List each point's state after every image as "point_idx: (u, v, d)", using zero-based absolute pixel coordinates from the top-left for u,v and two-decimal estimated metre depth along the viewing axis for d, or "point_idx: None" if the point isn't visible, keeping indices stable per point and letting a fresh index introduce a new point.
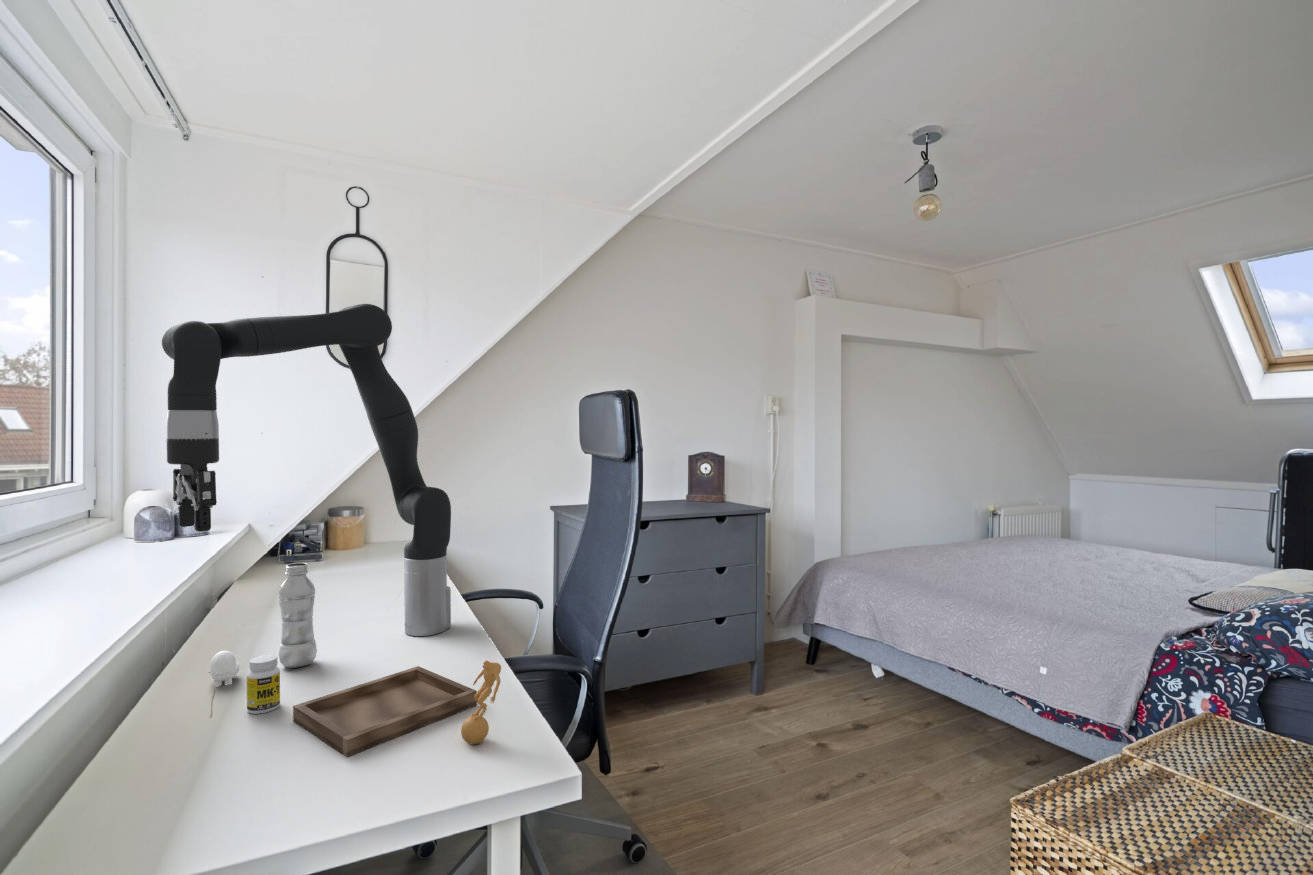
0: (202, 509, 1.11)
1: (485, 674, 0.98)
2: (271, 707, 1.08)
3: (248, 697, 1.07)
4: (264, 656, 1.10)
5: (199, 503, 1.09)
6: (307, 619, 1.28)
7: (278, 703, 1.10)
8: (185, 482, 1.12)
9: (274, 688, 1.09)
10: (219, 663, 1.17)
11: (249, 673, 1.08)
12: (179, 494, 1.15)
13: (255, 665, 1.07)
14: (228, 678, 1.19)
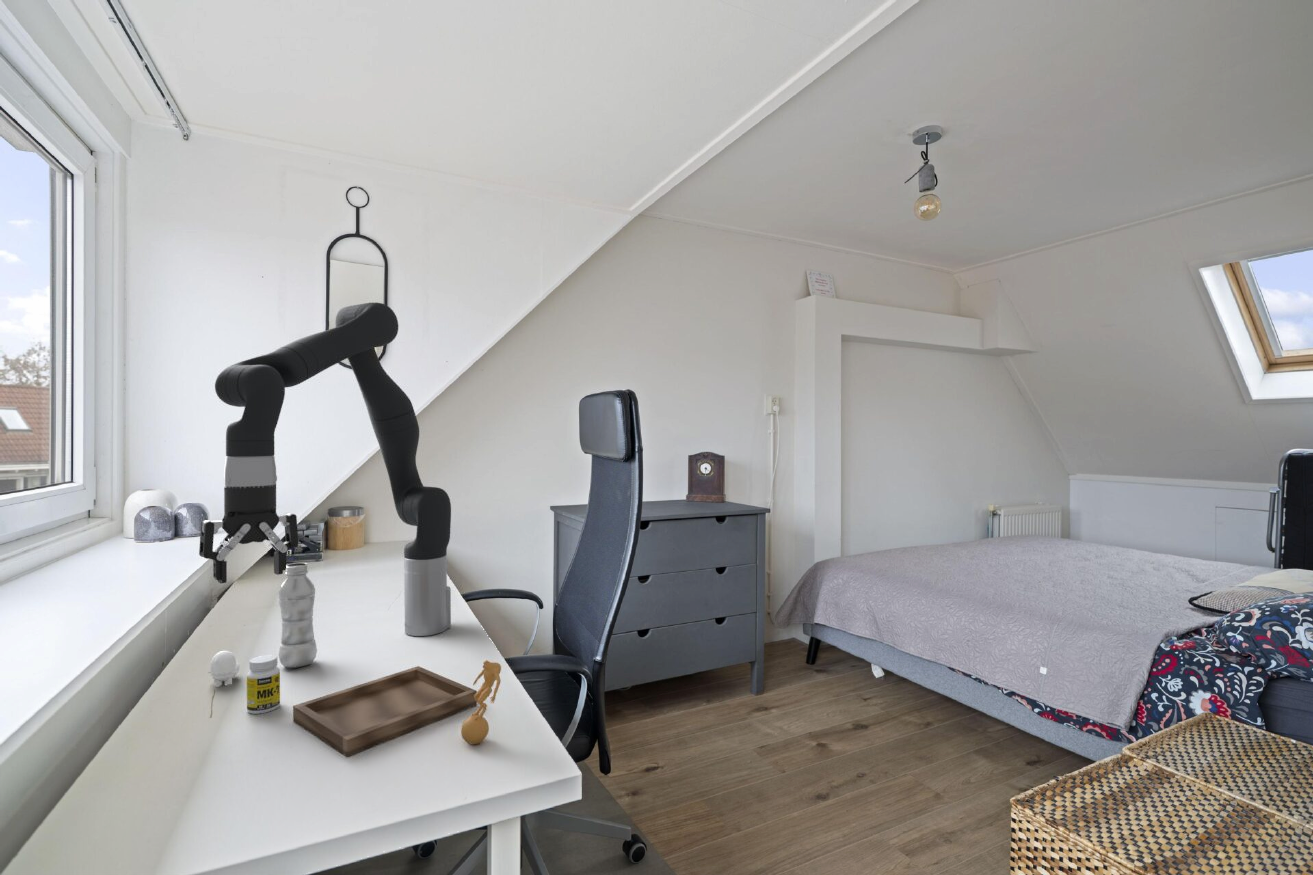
0: (286, 551, 1.15)
1: (485, 674, 0.98)
2: (271, 707, 1.08)
3: (248, 697, 1.07)
4: (264, 656, 1.10)
5: (297, 544, 1.15)
6: (307, 619, 1.28)
7: (278, 703, 1.10)
8: (268, 528, 1.11)
9: (274, 688, 1.09)
10: (219, 663, 1.17)
11: (249, 673, 1.08)
12: (234, 546, 1.08)
13: (255, 665, 1.07)
14: (228, 678, 1.19)
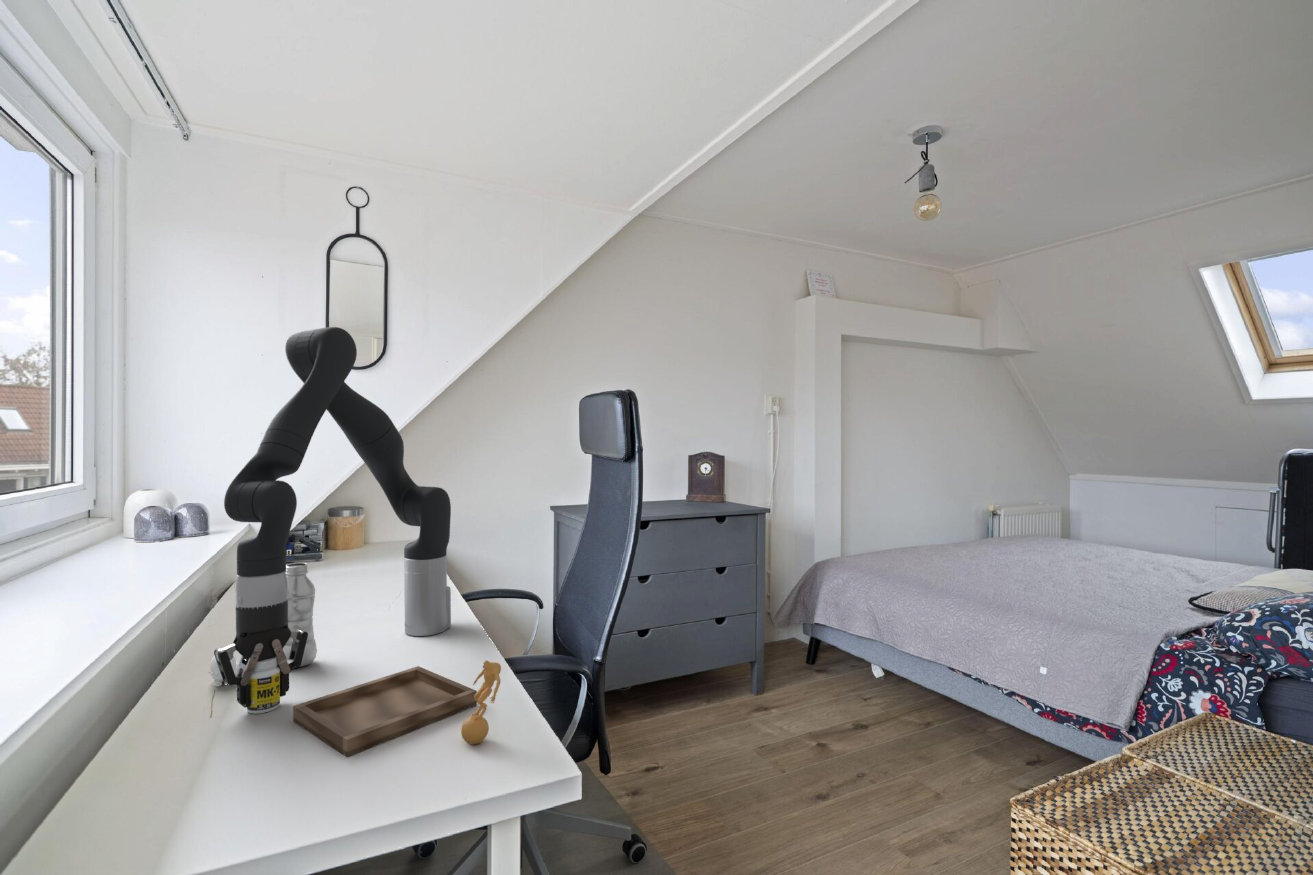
0: None
1: (485, 674, 0.98)
2: (271, 707, 1.08)
3: None
4: None
5: (299, 663, 1.12)
6: (307, 619, 1.28)
7: (278, 703, 1.10)
8: (279, 646, 1.09)
9: (274, 688, 1.09)
10: None
11: None
12: (254, 667, 1.07)
13: None
14: None
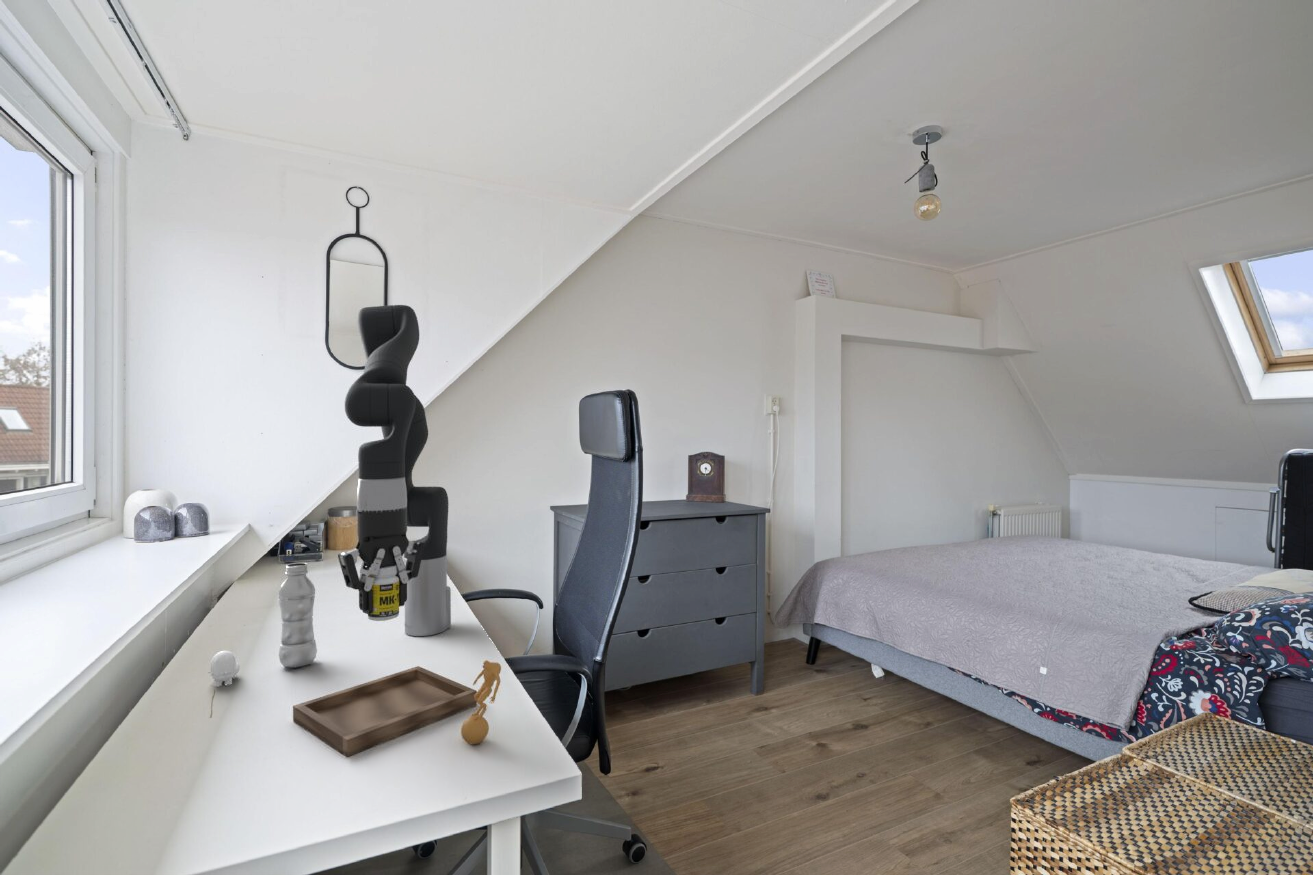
0: None
1: (485, 674, 0.98)
2: (392, 615, 1.06)
3: None
4: None
5: (417, 574, 1.10)
6: (307, 619, 1.28)
7: (398, 612, 1.07)
8: (399, 554, 1.07)
9: (395, 596, 1.06)
10: (219, 663, 1.17)
11: None
12: (376, 573, 1.04)
13: None
14: (228, 678, 1.19)
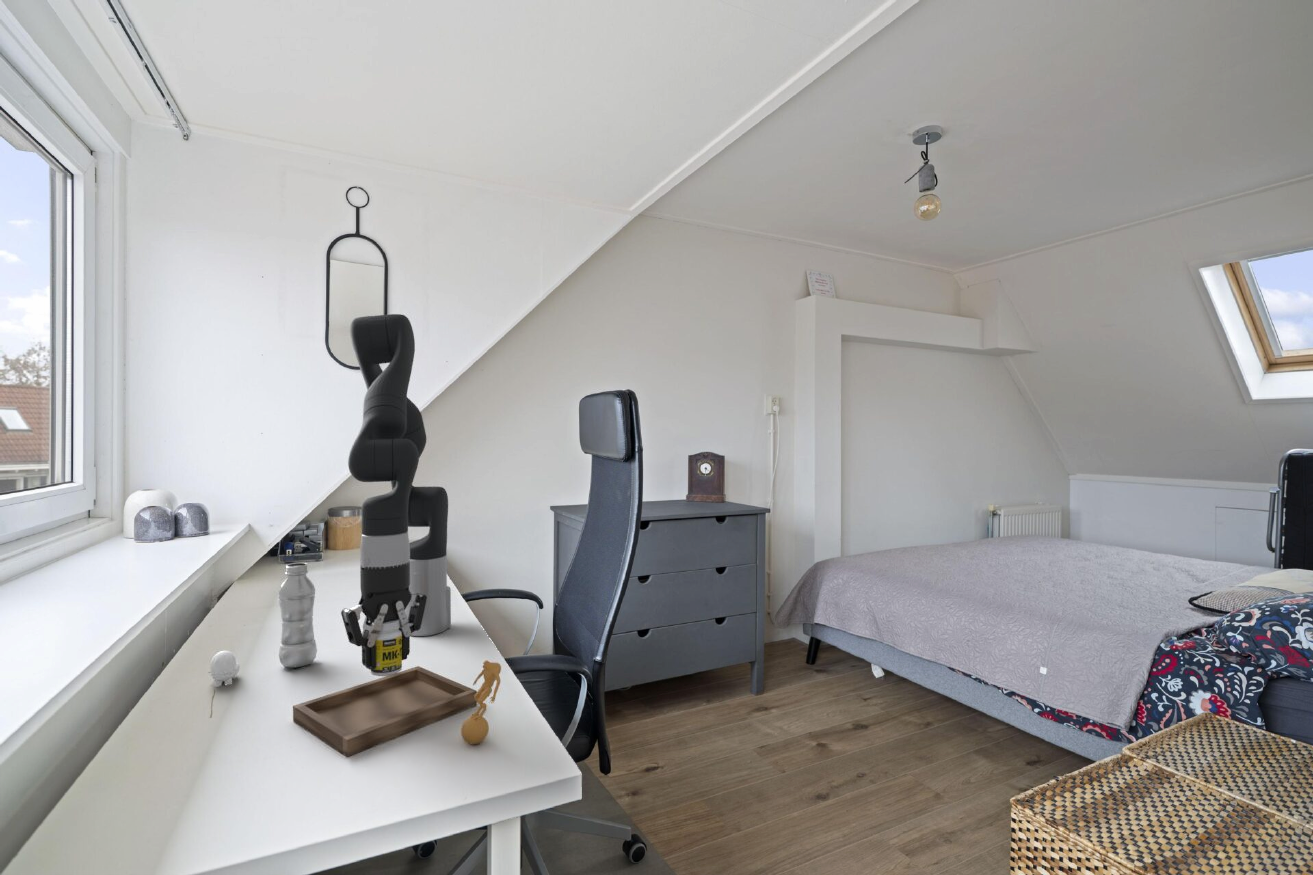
0: None
1: (485, 674, 0.98)
2: (395, 670, 1.06)
3: None
4: None
5: (419, 627, 1.10)
6: (307, 619, 1.28)
7: (401, 666, 1.07)
8: (402, 608, 1.07)
9: (398, 651, 1.06)
10: (219, 663, 1.17)
11: None
12: (379, 629, 1.05)
13: None
14: (228, 678, 1.19)
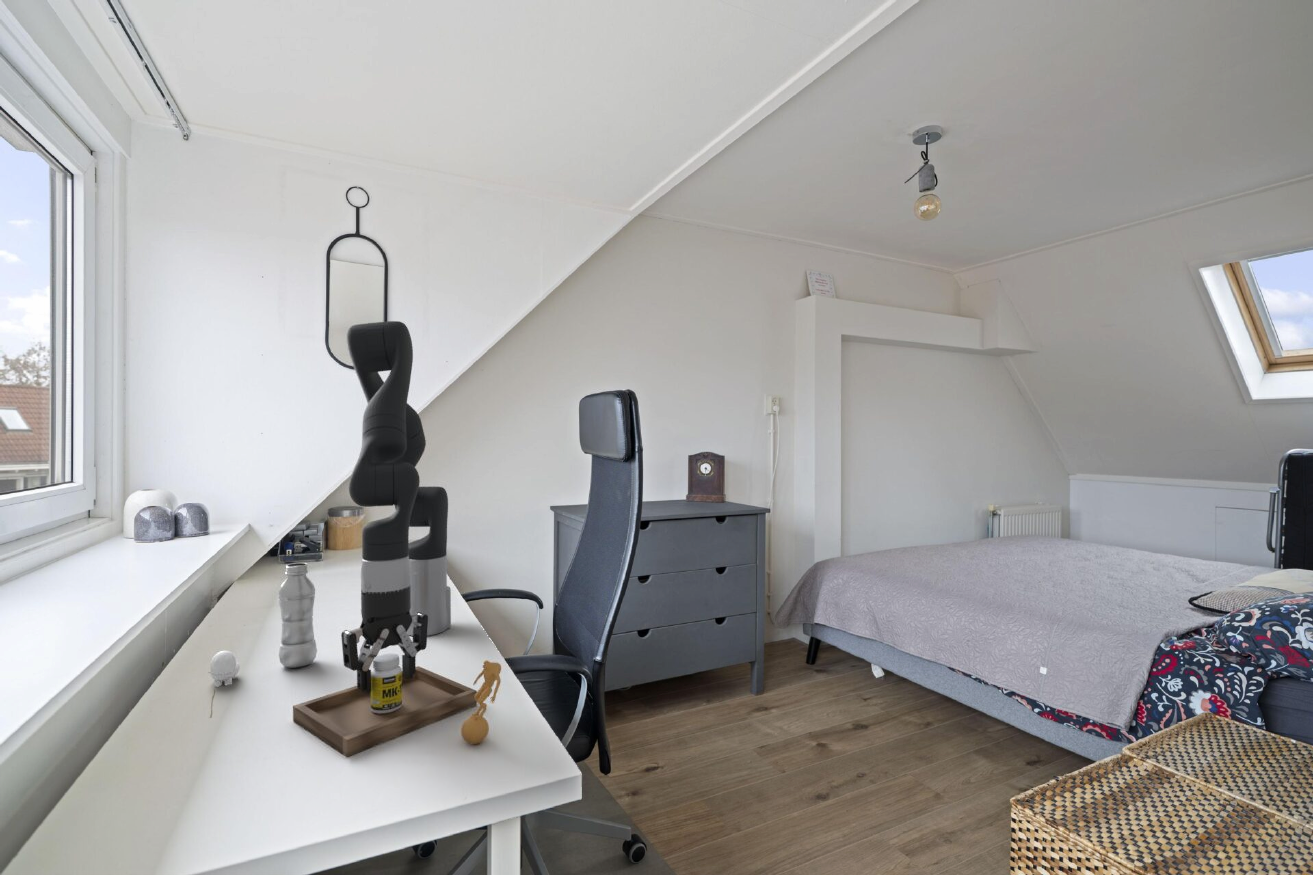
0: None
1: (485, 674, 0.98)
2: (395, 707, 1.06)
3: (373, 697, 1.05)
4: (385, 655, 1.08)
5: (425, 646, 1.11)
6: (307, 619, 1.28)
7: (401, 703, 1.07)
8: (404, 631, 1.07)
9: (398, 687, 1.06)
10: (219, 663, 1.17)
11: (373, 672, 1.06)
12: (376, 653, 1.04)
13: (379, 663, 1.05)
14: (228, 678, 1.19)
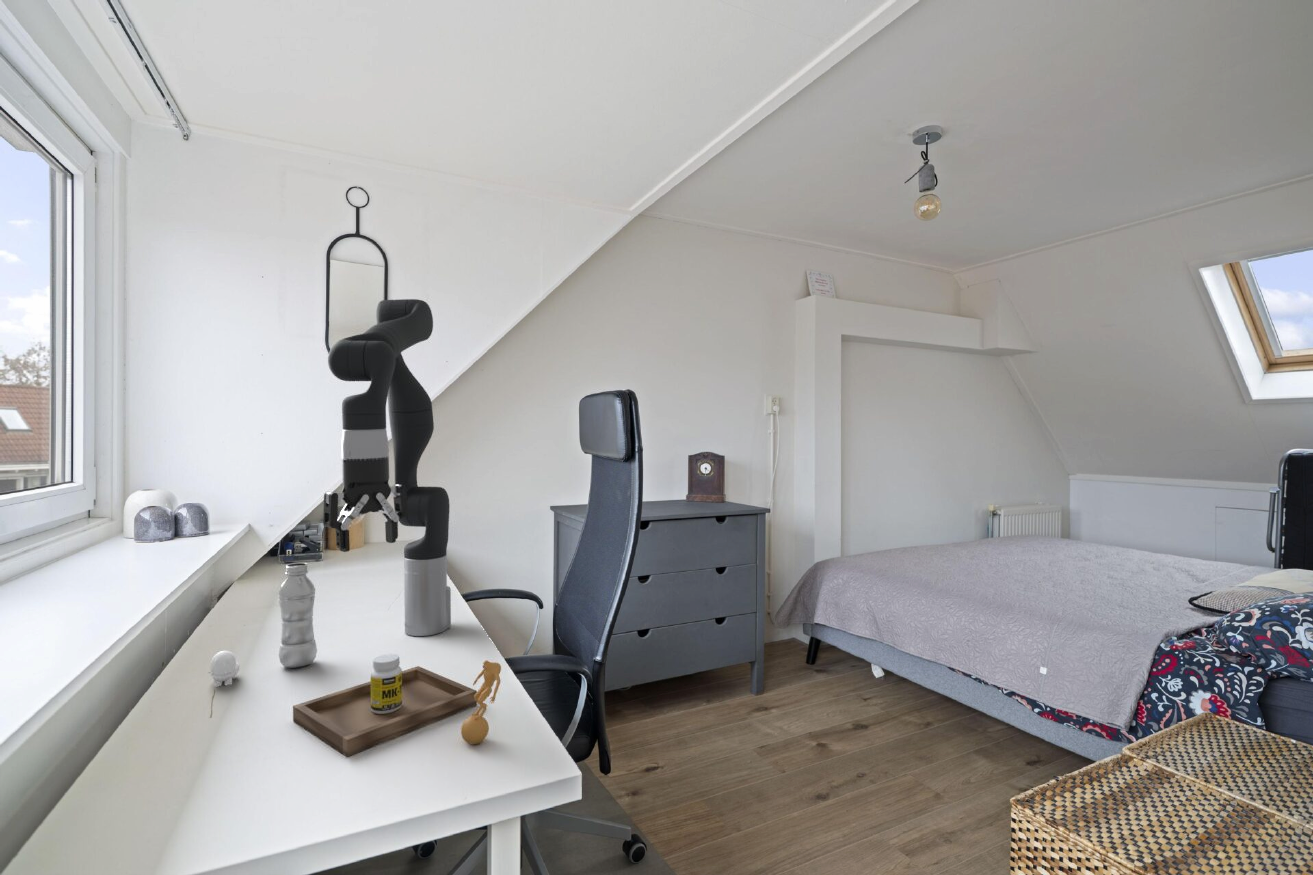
0: None
1: (485, 674, 0.98)
2: (395, 707, 1.06)
3: (373, 697, 1.05)
4: (386, 655, 1.08)
5: (406, 513, 1.20)
6: (307, 619, 1.28)
7: (401, 703, 1.07)
8: (383, 499, 1.15)
9: (398, 688, 1.06)
10: (219, 663, 1.17)
11: (373, 672, 1.06)
12: (355, 516, 1.12)
13: (379, 664, 1.05)
14: (228, 678, 1.19)
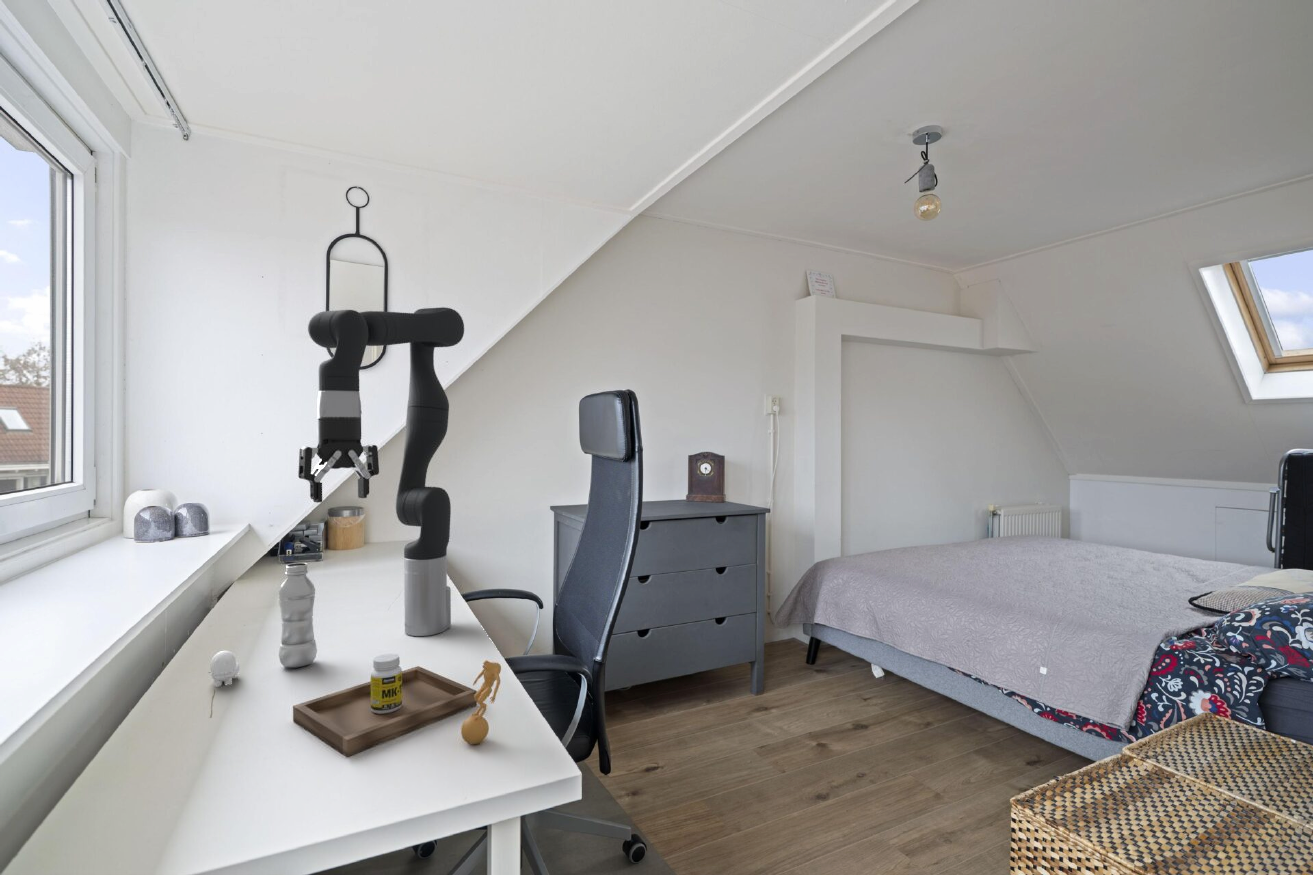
0: None
1: (485, 674, 0.98)
2: (395, 707, 1.06)
3: (372, 696, 1.05)
4: (386, 655, 1.08)
5: (378, 471, 1.29)
6: (307, 619, 1.28)
7: (401, 703, 1.07)
8: (355, 456, 1.25)
9: (398, 688, 1.06)
10: (219, 663, 1.17)
11: (373, 672, 1.06)
12: (328, 470, 1.22)
13: (379, 664, 1.05)
14: (228, 678, 1.19)
